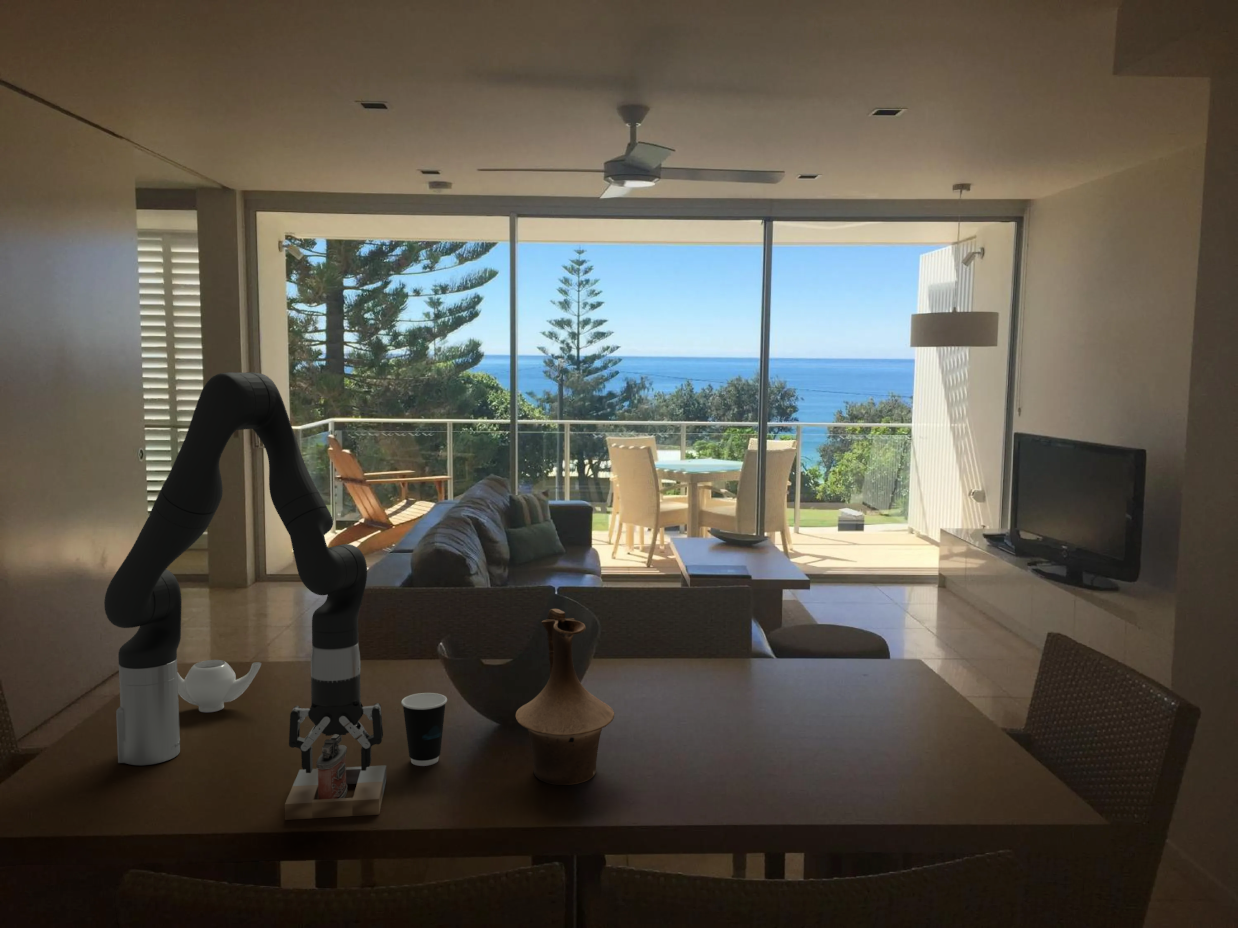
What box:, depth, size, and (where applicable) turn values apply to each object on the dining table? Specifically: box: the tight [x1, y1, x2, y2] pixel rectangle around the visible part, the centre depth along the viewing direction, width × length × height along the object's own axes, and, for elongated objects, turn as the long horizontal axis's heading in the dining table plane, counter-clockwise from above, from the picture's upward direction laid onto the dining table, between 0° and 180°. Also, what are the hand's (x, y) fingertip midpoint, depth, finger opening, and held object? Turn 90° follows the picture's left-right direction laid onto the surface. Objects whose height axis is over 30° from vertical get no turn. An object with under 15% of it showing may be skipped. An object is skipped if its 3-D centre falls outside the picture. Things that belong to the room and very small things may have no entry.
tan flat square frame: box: [284, 764, 387, 821], centre depth 155 cm, size 14×13×2 cm
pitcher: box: [515, 608, 615, 786], centre depth 165 cm, size 18×17×28 cm
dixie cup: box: [401, 692, 448, 767], centre depth 171 cm, size 8×8×11 cm
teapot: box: [177, 659, 262, 713], centre depth 196 cm, size 10×20×9 cm, turn 95°
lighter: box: [316, 734, 348, 799], centre depth 155 cm, size 8×3×10 cm, turn 175°
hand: (337, 769), depth 155 cm, fingers open, 8 cm apart
